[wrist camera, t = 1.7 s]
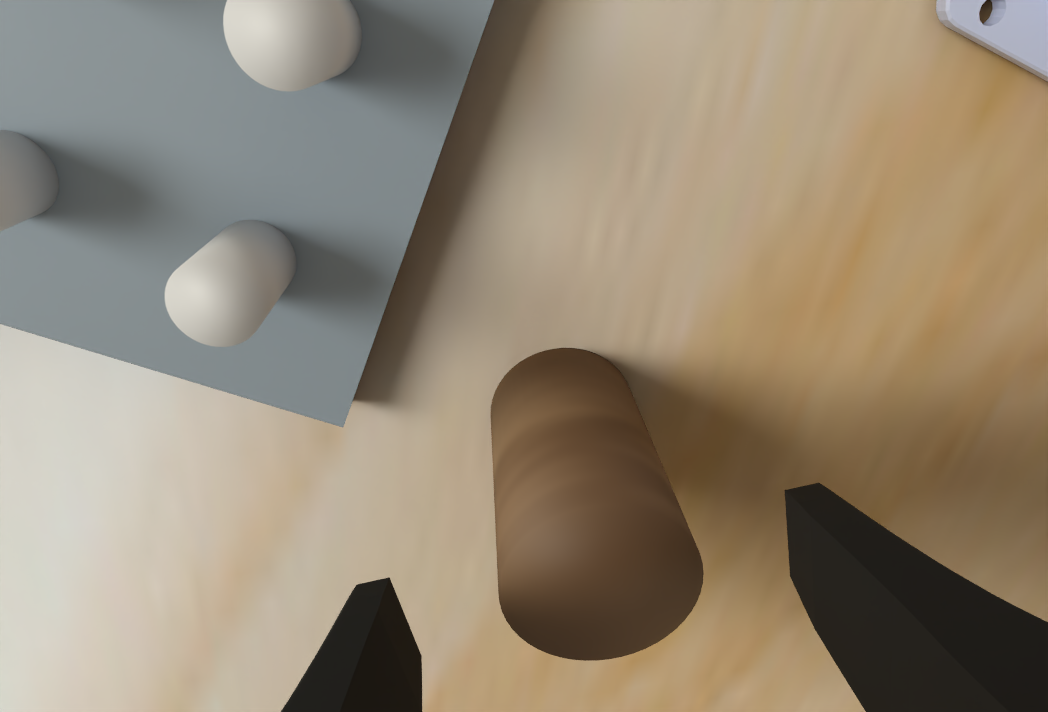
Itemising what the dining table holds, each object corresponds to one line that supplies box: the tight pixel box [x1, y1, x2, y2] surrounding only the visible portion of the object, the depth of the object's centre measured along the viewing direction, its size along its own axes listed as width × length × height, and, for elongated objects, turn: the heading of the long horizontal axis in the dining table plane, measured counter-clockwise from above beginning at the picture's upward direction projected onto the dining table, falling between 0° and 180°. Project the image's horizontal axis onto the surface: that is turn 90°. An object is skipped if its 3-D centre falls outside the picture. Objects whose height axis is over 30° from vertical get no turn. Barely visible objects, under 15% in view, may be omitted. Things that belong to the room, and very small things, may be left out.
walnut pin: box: [491, 348, 703, 660], centre depth 15 cm, size 4×4×6 cm
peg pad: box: [0, 0, 494, 427], centre depth 12 cm, size 10×11×4 cm
